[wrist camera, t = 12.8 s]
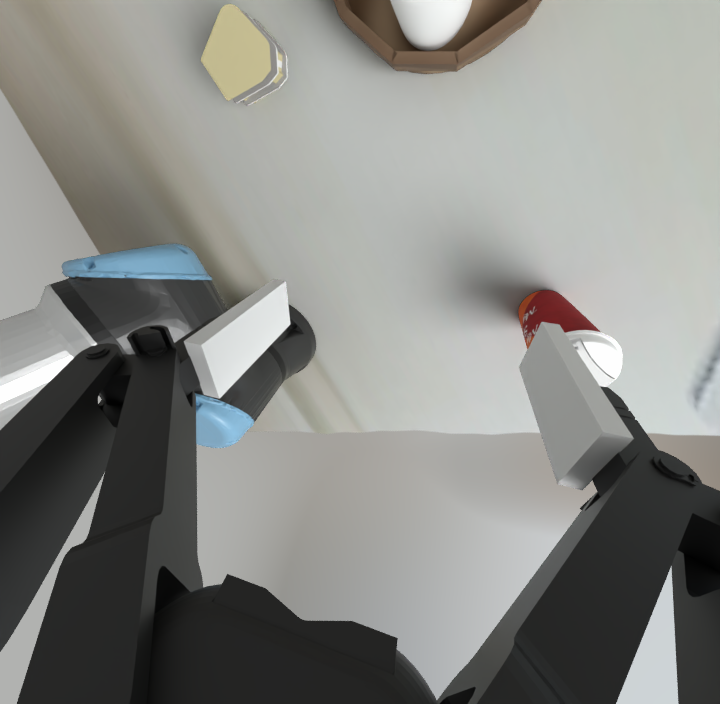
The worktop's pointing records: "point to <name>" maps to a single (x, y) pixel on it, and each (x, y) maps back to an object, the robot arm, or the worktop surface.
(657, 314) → the worktop surface
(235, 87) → the yellow layered block
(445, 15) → the can
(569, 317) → the paper cup
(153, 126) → the worktop surface
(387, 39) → the tray
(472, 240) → the worktop surface
